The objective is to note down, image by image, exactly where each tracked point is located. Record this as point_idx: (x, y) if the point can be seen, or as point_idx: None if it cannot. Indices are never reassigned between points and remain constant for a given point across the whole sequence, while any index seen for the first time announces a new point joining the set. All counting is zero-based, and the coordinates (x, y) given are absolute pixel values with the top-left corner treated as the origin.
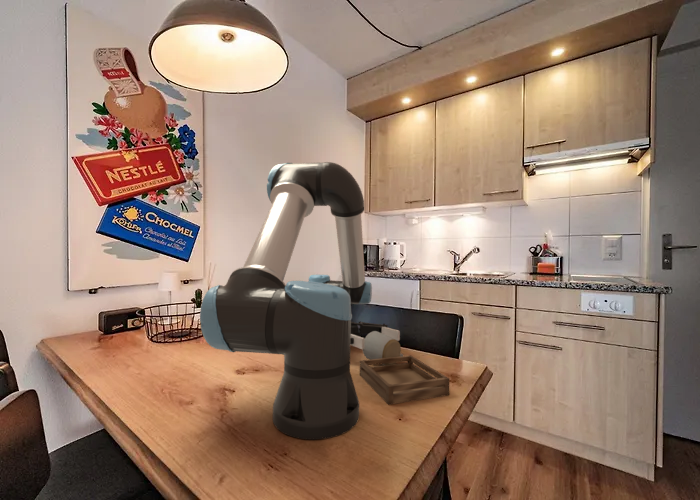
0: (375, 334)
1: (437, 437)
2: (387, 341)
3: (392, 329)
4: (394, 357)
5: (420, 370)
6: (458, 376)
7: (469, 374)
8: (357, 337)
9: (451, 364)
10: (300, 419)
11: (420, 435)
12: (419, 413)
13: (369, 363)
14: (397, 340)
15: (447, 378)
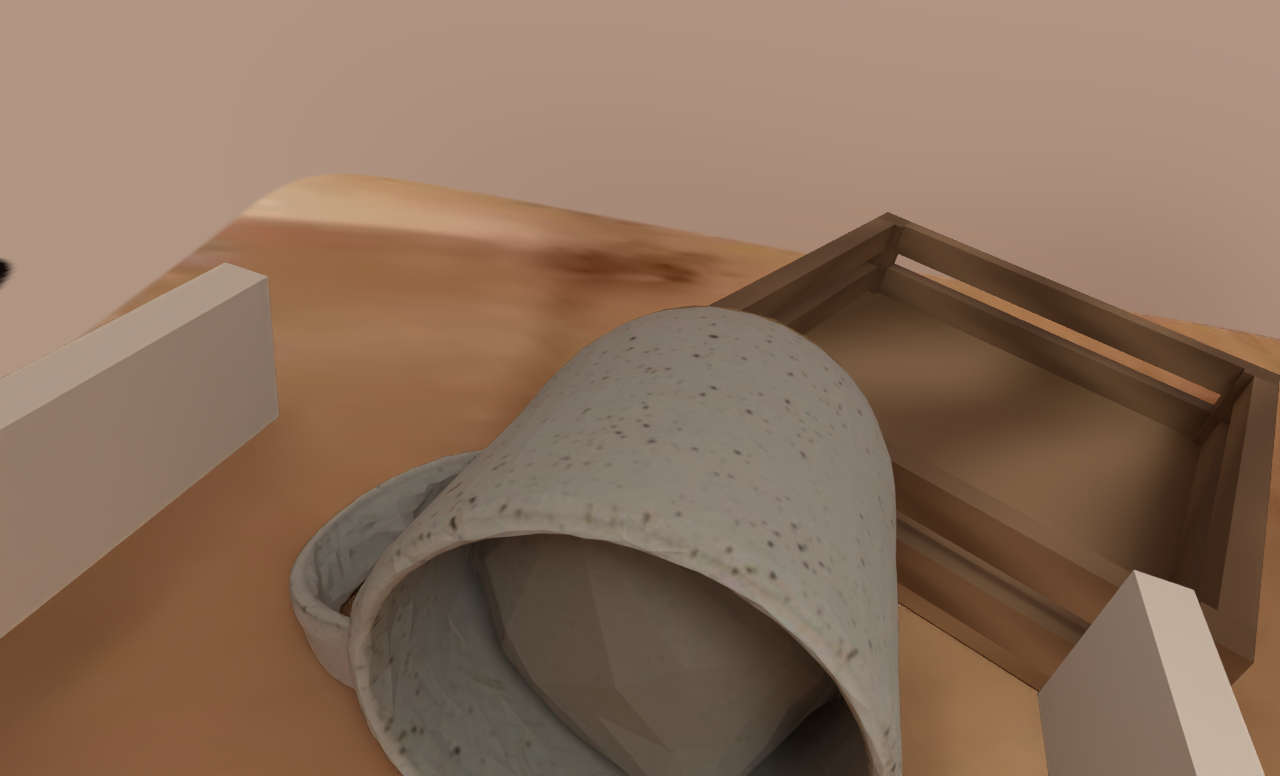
0: (782, 476)
1: (1179, 321)
2: (832, 358)
3: (132, 339)
4: None
5: None
6: (582, 251)
7: (514, 219)
8: (1233, 720)
9: (362, 259)
10: None
11: (1230, 352)
12: (1122, 360)
13: None
14: (275, 417)
15: (896, 216)
